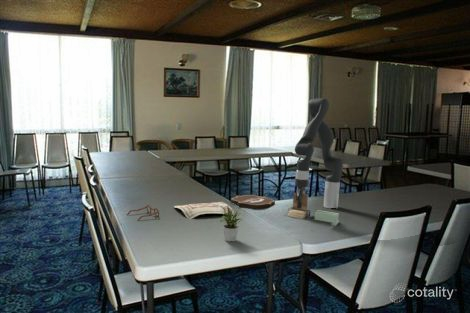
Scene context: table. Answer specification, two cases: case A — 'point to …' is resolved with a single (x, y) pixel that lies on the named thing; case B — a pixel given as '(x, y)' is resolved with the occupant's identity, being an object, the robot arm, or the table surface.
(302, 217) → the offcut lower
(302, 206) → the walnut sheet
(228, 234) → the house plant
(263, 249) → the table surface
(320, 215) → the slotted stand
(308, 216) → the offcut rack
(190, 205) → the poster
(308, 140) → the robot arm
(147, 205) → the glasses
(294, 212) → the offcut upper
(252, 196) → the decorative plaque
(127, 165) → the table surface
